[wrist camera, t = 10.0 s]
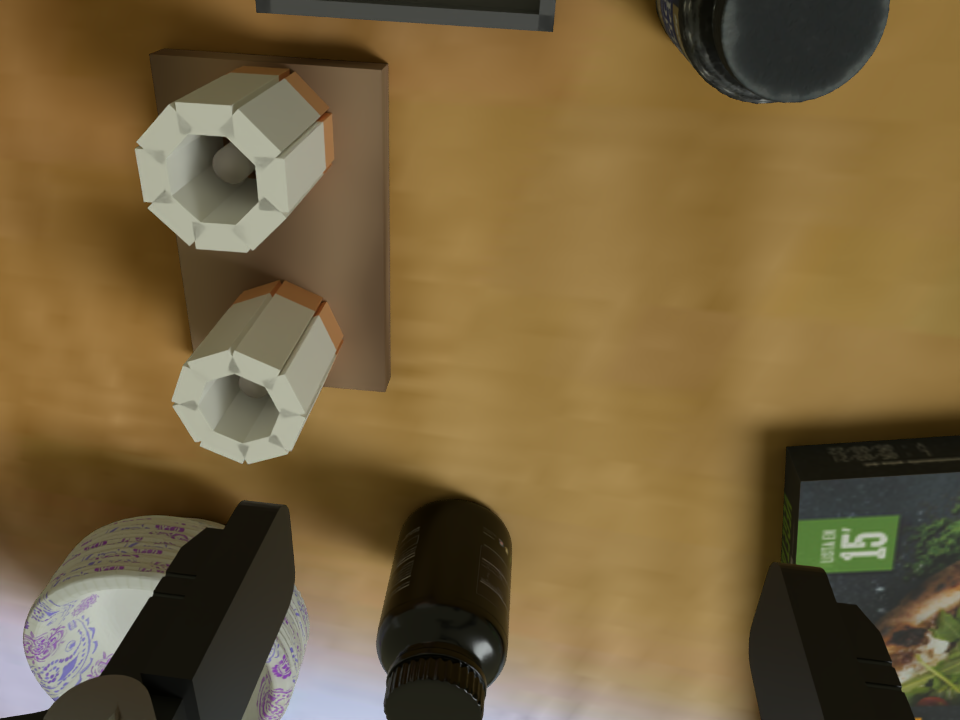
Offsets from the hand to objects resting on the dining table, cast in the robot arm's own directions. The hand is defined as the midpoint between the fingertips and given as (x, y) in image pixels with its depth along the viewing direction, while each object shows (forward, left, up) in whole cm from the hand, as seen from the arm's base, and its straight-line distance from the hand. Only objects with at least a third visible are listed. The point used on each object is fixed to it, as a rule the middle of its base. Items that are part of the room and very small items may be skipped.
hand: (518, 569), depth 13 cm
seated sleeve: (+12, +10, -25) cm, 29 cm away
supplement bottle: (+3, +24, -27) cm, 36 cm away
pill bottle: (-7, -7, -27) cm, 28 cm away
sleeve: (+12, 0, -25) cm, 28 cm away
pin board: (+12, +5, -26) cm, 29 cm away
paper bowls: (+19, +29, -27) cm, 44 cm away
